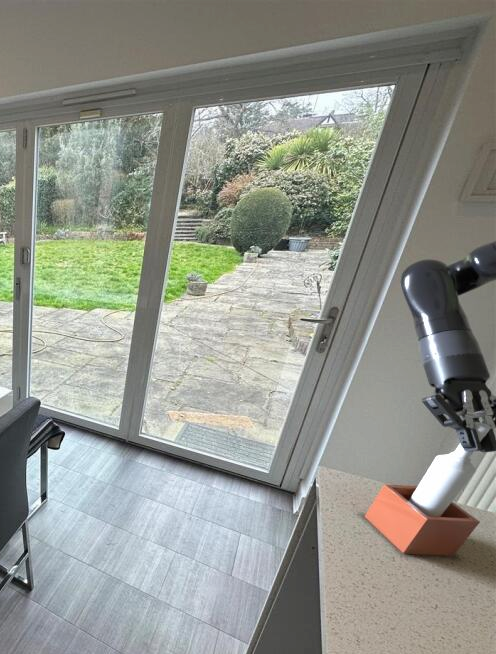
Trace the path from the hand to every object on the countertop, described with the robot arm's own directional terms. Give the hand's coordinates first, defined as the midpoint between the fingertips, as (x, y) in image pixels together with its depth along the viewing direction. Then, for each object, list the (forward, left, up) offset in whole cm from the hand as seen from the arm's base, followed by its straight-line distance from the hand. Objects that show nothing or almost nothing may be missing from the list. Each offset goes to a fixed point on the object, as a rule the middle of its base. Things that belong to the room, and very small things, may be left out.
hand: (481, 450), depth 71 cm
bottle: (0, -2, -21) cm, 21 cm away
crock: (0, -2, -23) cm, 23 cm away
